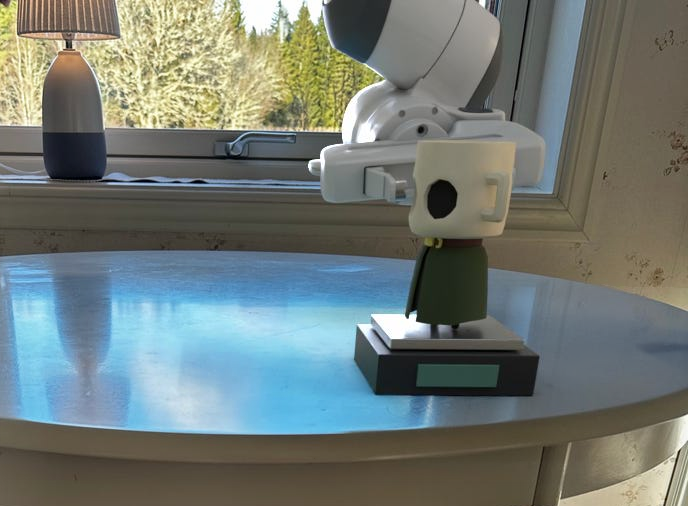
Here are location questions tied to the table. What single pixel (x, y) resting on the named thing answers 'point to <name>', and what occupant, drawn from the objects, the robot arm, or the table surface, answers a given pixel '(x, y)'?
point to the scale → (443, 369)
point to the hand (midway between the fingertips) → (452, 186)
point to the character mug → (456, 226)
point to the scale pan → (445, 334)
